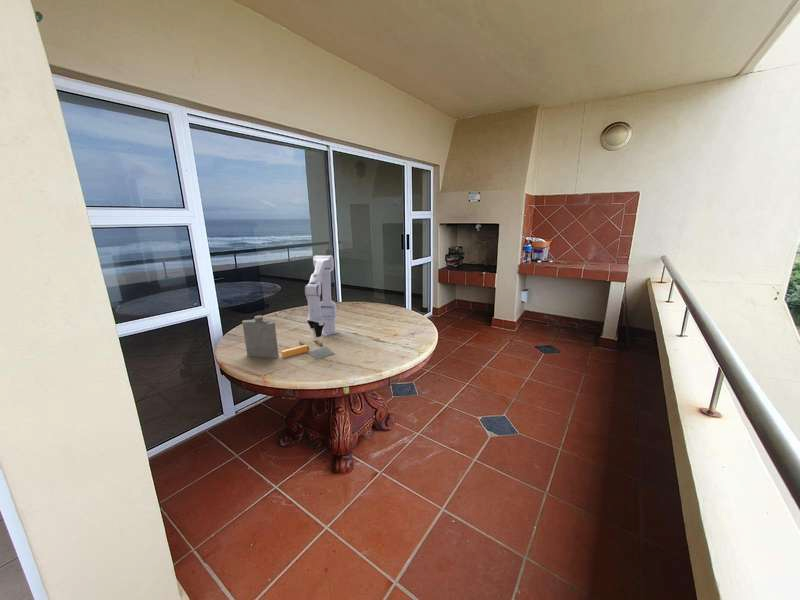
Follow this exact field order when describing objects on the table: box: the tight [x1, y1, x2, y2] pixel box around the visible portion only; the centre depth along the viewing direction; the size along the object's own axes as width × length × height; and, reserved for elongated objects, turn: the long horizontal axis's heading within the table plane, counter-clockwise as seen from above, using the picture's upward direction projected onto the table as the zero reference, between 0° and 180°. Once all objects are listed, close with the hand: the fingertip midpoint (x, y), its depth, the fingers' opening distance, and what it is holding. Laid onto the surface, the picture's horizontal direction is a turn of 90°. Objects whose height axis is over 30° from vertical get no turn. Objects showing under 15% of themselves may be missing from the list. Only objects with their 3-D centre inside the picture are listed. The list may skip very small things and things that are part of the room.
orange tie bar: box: [281, 345, 309, 359], centre depth 155 cm, size 2×12×3 cm, turn 127°
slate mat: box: [307, 346, 336, 361], centre depth 156 cm, size 10×10×1 cm
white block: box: [309, 327, 324, 342], centre depth 156 cm, size 4×4×5 cm
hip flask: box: [241, 314, 279, 359], centre depth 151 cm, size 16×4×20 cm, turn 80°
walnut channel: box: [298, 339, 323, 350], centre depth 166 cm, size 10×8×2 cm
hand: (316, 335), depth 156 cm, fingers closed on white block, 4 cm apart
